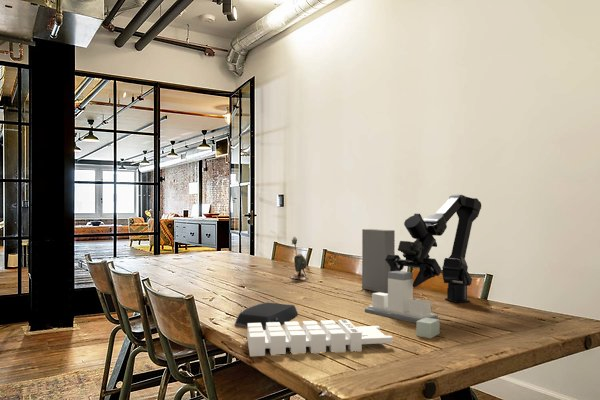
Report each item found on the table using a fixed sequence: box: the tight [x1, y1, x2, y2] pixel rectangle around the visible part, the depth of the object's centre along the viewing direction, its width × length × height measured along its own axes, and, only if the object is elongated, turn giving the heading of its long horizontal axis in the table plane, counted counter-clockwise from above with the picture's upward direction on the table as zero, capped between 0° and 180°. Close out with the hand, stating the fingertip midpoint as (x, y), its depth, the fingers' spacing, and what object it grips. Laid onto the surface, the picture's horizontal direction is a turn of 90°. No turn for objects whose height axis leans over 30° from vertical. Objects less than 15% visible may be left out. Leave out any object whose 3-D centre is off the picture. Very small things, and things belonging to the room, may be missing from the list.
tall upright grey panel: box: [361, 228, 396, 294], centre depth 195 cm, size 14×6×25 cm, turn 34°
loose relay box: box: [415, 317, 441, 339], centre depth 129 cm, size 6×4×4 cm, turn 141°
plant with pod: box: [289, 236, 309, 280], centre depth 225 cm, size 8×11×20 cm
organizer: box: [246, 319, 394, 357], centre depth 119 cm, size 13×5×35 cm
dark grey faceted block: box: [234, 301, 299, 330], centre depth 145 cm, size 13×19×4 cm
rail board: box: [364, 292, 439, 324], centre depth 152 cm, size 10×21×6 cm, turn 41°
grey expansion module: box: [387, 270, 414, 313], centre depth 152 cm, size 5×6×12 cm
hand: (401, 284), depth 152 cm, fingers open, 9 cm apart
